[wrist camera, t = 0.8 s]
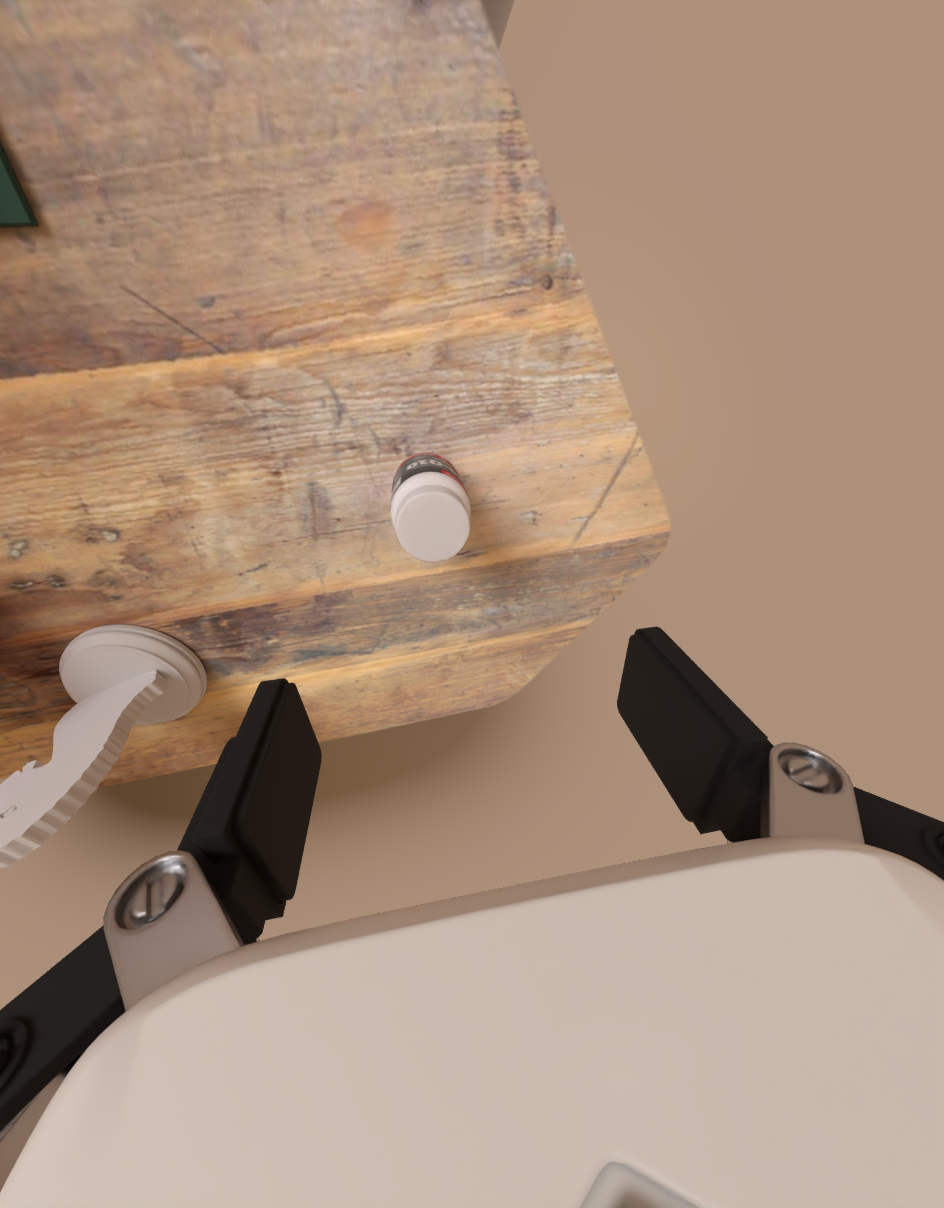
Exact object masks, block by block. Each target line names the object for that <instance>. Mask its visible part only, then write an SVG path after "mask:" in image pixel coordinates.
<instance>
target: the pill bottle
mask: <svg viewBox="0 0 944 1208" xmlns="http://www.w3.org/2000/svg"><path fill="white" fill-rule="evenodd" d="M390 511H391V519H392V524H393V526H394V529H395V531H396V534H397V537H398V540H399V542H400V544H401V546H402V547H403V549H404V550H405V551H406V552H407V553H408V554H410V555H411V556H413V557H414V558H416V559H418V560H421V561H425V562H440V561H444V560H447V559H450V558H451V557H453V556H455V555H456V554H457V553H458V552H459V551H460V550H461V549H462V548H463V547H464V545H465V543H466V542H467V539H468V536H469V532H470V518H471V506H470V501H469V498H468V495H467V493H466V491H465V489H464V487H463V485H462V482H461V480H460V478H459V476H458V474H457V472H456V470H455V468H454V467H453V466H452V464H451V463H450V462H449V461H447V460H446V459H445V458H443V457H441V456H439V455H437V454H433V453H418V454H415V455H413V456H410V457H409V458H407V459H406V460H405V461H403V463H402V464H401V465H400V466H399V468H398V469H397V471H396V473H395V476H394V479H393V487H392V498H391V509H390Z"/></svg>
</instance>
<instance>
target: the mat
mask: <svg viewBox="0 0 944 1208" xmlns="http://www.w3.org/2000/svg"><path fill="white" fill-rule="evenodd" d="M23 226H38V223H37V221H36V219H35V217H34V215H33V213H32V210H31V208H30V206H29V204H28V202H27V200H26V198H25V196H24V193H23V191H22V189H21V187H20V185H19V183H18V181H17V178H16V176H15V174H14V172H13V170H12V168H11V166H10V163H9V161H8V159H7V157H6V155H5V153H4V151H3V149H2V146H1V144H0V227H23Z"/></svg>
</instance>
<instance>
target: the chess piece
mask: <svg viewBox="0 0 944 1208" xmlns="http://www.w3.org/2000/svg"><path fill="white" fill-rule="evenodd" d="M59 672H60V676H61V679H62V681H63V685H64V687H65V689H66V691H67V692H68V694H69V695H70V696H71V698H72V699H73V700H74V701H75V702H76V703H78V704H76V705H75V706H74V707H73V708H72V709H70V710H69V711H68V712H67V713H66V714H65V715H64V716H63V717H62V718H61V720H60V721H59V722H58V723H57V725H56V727H55V730H54V737H53V754H52V760H51V761H50V762H49V763H48V764H46V765H43V764H41V763H39V762H38V761H36V760H34V761H31V762H26V765H25V766H24V767H23V768H22V769H23V772H20V771H16V772H14V773H13V774H12V775H11V776H10V777H8V778H7V779H6V780H5V781H4V782H3V783H2V784H1V785H0V868H2V867H9V866H11V865H12V864H13V863H14V862H15V861H16V860H17V859H19V858H23V857H25V856H27V855H28V854H29V853H30V852H31V851H33V850H34V849H36V848H38V847H40V846H42V845H43V844H44V843H45V841H46V840H47V839H48V838H49V836H50V835H51V834H53V833H55V832H56V831H58V830H59V828H60V827H61V826H62V825H63V824H64V823H65V822H66V821H68V820H69V819H70V818H71V817H72V816H73V814H74V813H75V812H76V810H77V809H78V808H79V807H81V806H82V805H83V804H84V803H85V802H86V800H87V798H88V797H89V795H91V794H92V793H93V792H94V791H95V790H96V789H97V788H98V785H99V783H100V782H101V781H102V780H103V779H104V778H105V777H106V775H107V773H108V772H109V771H110V770H111V769H112V767H113V765H114V763H115V762H116V761H117V760H118V759H119V757H118V755H119V754H120V753H121V751H122V750H123V746H124V745H125V743H126V740H127V739H128V736H129V732H130V730H131V729H132V727H133V726H134V725H154V724H159V723H163V722H168V721H172V720H175V719H177V718H180V717H182V716H184V715H186V714H187V713H189V712H190V711H191V710H192V709H193V708H194V707H196V706H197V705H198V704H199V702H200V701H201V700H202V698H203V696H204V694H205V692H206V689H207V674H206V671H205V669H204V666H203V665H202V663H201V661H200V660H199V659H198V657H197V656H196V655H195V654H194V653H193V652H192V651H191V650H190V649H189V648H187V647H186V646H185V645H184V644H182V643H180V642H179V641H177V640H176V639H174V638H172V637H170V636H168V635H166V634H163V633H161V632H158V631H155V630H152V629H149V628H145V627H140V626H134V625H106V626H100V627H96V628H93V629H90V630H88V631H85V632H83V633H82V634H80V635H79V636H77V637H76V638H75V639H74V640H72V641H71V642H70V643H69V644H68V646H67V647H66V649H65V651H64V653H63V654H62V656H61V659H60V663H59Z"/></svg>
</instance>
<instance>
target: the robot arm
mask: <svg viewBox="0 0 944 1208" xmlns="http://www.w3.org/2000/svg"><path fill="white" fill-rule="evenodd" d="M617 707H618V710H619V713H620V715H621V717H622V718H623V720H624V721H625V723H626V725H627V726H628V728H629V730H630V731H631V733H632V734H633V736H634V738H635V739H636V741H637V742H638V744H639V745H640V747H641V749H642V750H643V752H644V753H645V755H646V757H647V758H648V760H649V762H650V763H651V765H652V766H653V768H654V770H655V771H656V773H657V774H658V776H659V778H660V779H661V781H662V782H663V784H664V786H665V787H666V789H667V790H668V792H669V794H670V795H671V797H672V798H673V800H674V802H675V803H676V805H677V806H678V808H679V809H680V811H681V813H682V814H683V816H684V817H685V819H687V820H688V821H690V822H693V823H694V824H695V826H696V827H697V829H698V831H699V832H700V834H703V833H709V832H714V831H718V830H721V831H722V833H723V834H724V836H725V837H726V839H727V844H724V845H718V846H712V847H707V848H701V849H696V850H690V851H685V852H679V853H674V854H669V855H664V856H659V857H654V858H649V859H644V860H639V861H634V862H629V863H623V864H618V865H613V866H608V867H603V868H598V869H593V870H588V871H583V872H579V873H573V874H568V875H563V876H558V877H553V878H548V879H543V880H538V881H534V882H528V883H523V884H518V885H513V886H509V887H503V888H499V889H494V890H489V891H484V892H479V893H474V894H470V895H465V896H460V897H455V898H450V899H445V900H440V901H435V902H430V903H426V904H421V905H416V906H411V907H406V908H401V909H397V910H392V911H387V912H382V913H377V914H373V915H368V916H363V917H358V918H354V919H349V920H345V921H340V922H336V923H332V924H328V925H323V926H318V927H314V928H309V929H305V930H301V931H297V932H292V933H287V934H284V935H280V936H277V937H273V938H269V939H266V940H262V941H260V940H259V938H258V937H259V936H260V935H261V934H262V932H263V928H264V924H265V920H269V919H274V918H279V917H283V914H284V909H285V905H286V900H291V899H292V898H293V896H294V894H295V890H296V885H297V880H298V875H299V870H300V865H301V861H302V855H303V851H304V845H305V841H306V836H307V831H308V825H309V820H310V816H311V811H312V806H313V801H314V796H315V790H316V785H317V781H318V776H319V770H320V765H321V749H320V746H319V744H318V741H317V738H316V736H315V733H314V731H313V728H312V726H311V723H310V720H309V718H308V715H307V713H306V710H305V708H304V705H303V703H302V700H301V697H300V695H299V692H298V690H297V687H296V685H295V684H294V683H288V681H287V680H286V679H284V678H283V679H276V680H269V681H262V682H261V683H260V684H259V686H258V688H257V690H256V692H255V695H254V697H253V699H252V701H251V704H250V706H249V708H248V710H247V713H246V715H245V717H244V719H243V722H242V724H241V726H240V728H239V731H238V733H237V735H236V737H232V738H231V739H230V740H229V741H228V742H227V744H226V745H225V747H224V749H223V752H222V754H221V756H220V758H219V760H218V762H217V765H216V767H215V769H214V771H213V773H212V776H211V778H210V780H209V782H208V784H207V786H206V789H205V791H204V793H203V795H202V797H201V799H200V802H199V804H198V806H197V808H196V810H195V813H194V815H193V817H192V819H191V821H190V824H189V826H188V828H187V830H186V833H185V834H184V836H183V839H182V841H181V843H180V845H179V847H178V849H177V851H169V852H166V853H163V854H161V855H158V856H155V857H154V858H152V859H150V860H149V861H147V862H145V863H144V864H142V865H141V866H139V867H138V868H137V869H136V870H135V871H134V872H132V873H131V874H130V875H129V876H128V877H127V878H126V879H125V880H124V881H123V883H122V884H121V885H120V886H119V887H118V888H117V890H116V891H115V893H114V894H113V896H112V898H111V899H110V901H109V903H108V905H107V908H106V911H105V914H104V918H103V919H104V925H103V926H102V927H101V928H100V929H99V930H97V931H96V932H95V933H94V934H93V935H91V936H90V937H89V938H88V939H86V940H85V941H84V942H83V943H82V944H80V945H79V946H78V947H77V948H76V949H74V950H73V951H72V952H71V953H69V954H68V955H67V956H66V957H65V958H63V959H62V960H61V961H60V962H58V963H57V964H56V965H55V966H54V967H52V968H51V969H50V970H49V971H47V972H46V973H45V974H44V975H43V976H41V977H40V978H39V979H38V980H36V981H35V982H34V983H33V984H32V985H30V986H29V987H28V988H27V989H25V990H24V991H23V992H22V993H21V994H19V995H18V996H17V997H16V998H14V1000H12V1001H11V1002H10V1003H8V1004H7V1005H6V1006H5V1007H4V1008H2V1009H1V1010H0V1208H944V822H942V821H939V820H937V819H934V818H932V817H929V816H927V815H924V814H921V813H919V812H916V811H914V810H911V809H909V808H906V807H904V806H901V805H899V804H896V803H894V802H891V801H888V800H886V799H884V798H881V797H878V796H876V795H873V794H871V793H868V792H865V791H863V790H861V789H858V788H856V787H853V785H852V782H851V780H850V777H849V775H848V774H847V773H846V772H845V770H844V769H843V768H842V767H841V766H840V765H839V764H838V763H836V762H835V761H834V760H833V759H831V758H830V757H829V756H827V755H825V754H824V753H822V752H820V751H818V750H816V749H813V748H811V747H808V746H806V745H802V744H797V743H781V744H778V745H776V746H773V745H772V744H771V743H770V742H769V741H768V740H767V738H768V737H767V736H766V735H765V734H764V733H763V732H762V731H761V730H760V729H759V728H758V727H757V726H756V725H755V724H754V723H753V722H752V721H751V720H750V719H749V718H748V717H747V716H746V715H745V714H744V713H743V712H742V711H741V710H740V709H739V708H738V707H737V706H736V705H735V704H734V703H733V702H732V700H730V698H729V697H728V696H727V695H726V694H724V693H723V691H722V690H721V689H720V688H719V687H718V686H717V685H716V684H715V683H714V682H713V681H712V680H711V679H710V678H709V677H708V676H707V675H706V674H705V673H704V672H703V671H702V670H701V669H700V668H699V667H698V666H697V665H696V664H695V663H694V662H693V661H692V660H691V659H690V658H689V657H688V656H687V655H686V654H685V652H684V651H683V650H682V649H681V648H680V647H679V646H677V644H676V643H675V642H674V641H673V640H672V639H671V638H670V637H669V636H668V635H667V634H666V633H665V632H664V631H663V630H662V629H661V628H659V627H651V628H643V629H638V630H636V632H635V634H634V635H632V636H630V639H629V643H628V648H627V653H626V659H625V664H624V669H623V674H622V679H621V684H620V689H619V695H618V700H617Z"/></svg>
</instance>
